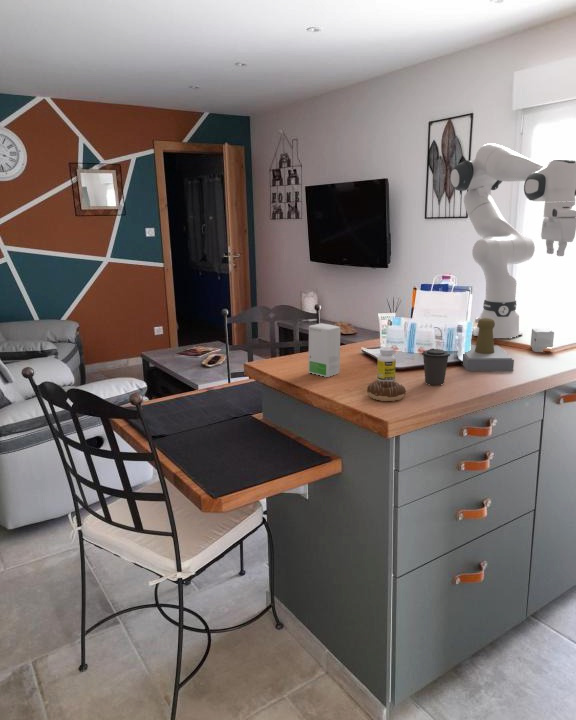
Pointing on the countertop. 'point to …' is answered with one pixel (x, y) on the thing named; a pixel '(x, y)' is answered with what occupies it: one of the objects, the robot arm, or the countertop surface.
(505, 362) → the plinth
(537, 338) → the skincare box
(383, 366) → the supplement bottle
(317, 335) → the skincare box
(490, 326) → the cork
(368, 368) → the countertop surface
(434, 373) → the coffee cup
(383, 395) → the donut
